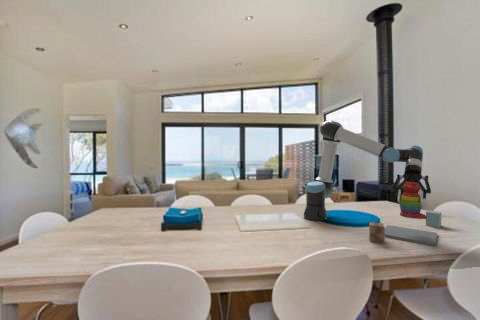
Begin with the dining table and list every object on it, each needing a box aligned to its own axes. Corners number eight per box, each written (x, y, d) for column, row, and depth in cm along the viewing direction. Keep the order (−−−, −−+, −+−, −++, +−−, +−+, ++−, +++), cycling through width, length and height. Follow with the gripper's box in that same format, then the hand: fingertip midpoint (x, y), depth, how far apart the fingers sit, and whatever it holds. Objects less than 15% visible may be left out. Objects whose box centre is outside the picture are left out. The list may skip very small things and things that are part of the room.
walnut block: (369, 241, 116) (370, 225, 116) (369, 238, 121) (369, 222, 121) (384, 243, 113) (384, 226, 113) (383, 239, 119) (383, 223, 118)
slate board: (380, 235, 124) (380, 233, 124) (387, 227, 139) (387, 224, 139) (435, 246, 110) (435, 243, 110) (436, 235, 125) (436, 232, 125)
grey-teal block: (425, 225, 143) (425, 211, 143) (428, 223, 147) (428, 210, 146) (438, 227, 138) (438, 213, 138) (441, 225, 142) (441, 212, 142)
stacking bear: (429, 219, 118) (429, 182, 118) (408, 219, 119) (408, 182, 118) (413, 213, 129) (414, 180, 129) (394, 213, 129) (394, 180, 129)
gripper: (438, 174, 128) (437, 209, 116) (391, 172, 142) (386, 203, 130) (438, 164, 124) (437, 199, 112) (389, 163, 138) (384, 195, 126)
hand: (409, 202), depth 121 cm, fingers closed on stacking bear, 9 cm apart
